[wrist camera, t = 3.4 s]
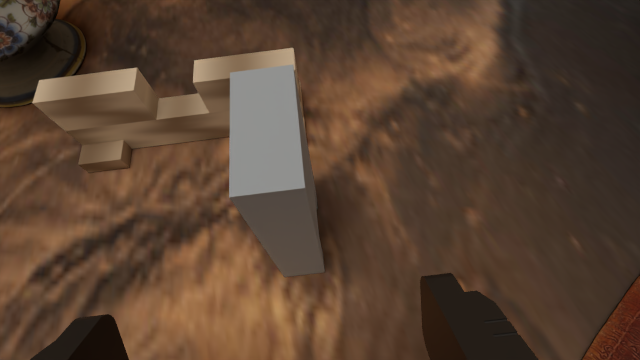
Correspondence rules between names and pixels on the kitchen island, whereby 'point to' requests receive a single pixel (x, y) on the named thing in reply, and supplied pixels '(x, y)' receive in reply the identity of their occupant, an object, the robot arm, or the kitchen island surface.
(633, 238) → the kitchen island surface
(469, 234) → the kitchen island surface
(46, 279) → the kitchen island surface
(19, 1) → the apothecary jar
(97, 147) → the birch slotted board
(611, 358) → the wooden tablet
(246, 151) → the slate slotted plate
